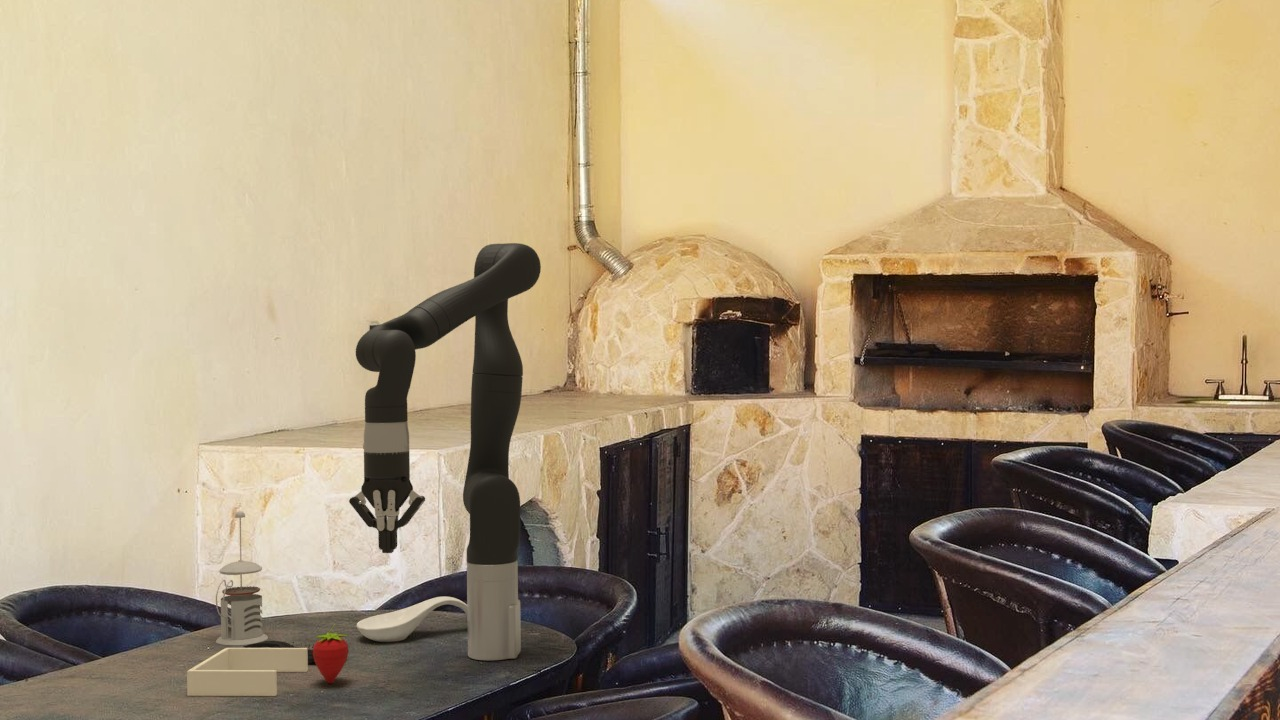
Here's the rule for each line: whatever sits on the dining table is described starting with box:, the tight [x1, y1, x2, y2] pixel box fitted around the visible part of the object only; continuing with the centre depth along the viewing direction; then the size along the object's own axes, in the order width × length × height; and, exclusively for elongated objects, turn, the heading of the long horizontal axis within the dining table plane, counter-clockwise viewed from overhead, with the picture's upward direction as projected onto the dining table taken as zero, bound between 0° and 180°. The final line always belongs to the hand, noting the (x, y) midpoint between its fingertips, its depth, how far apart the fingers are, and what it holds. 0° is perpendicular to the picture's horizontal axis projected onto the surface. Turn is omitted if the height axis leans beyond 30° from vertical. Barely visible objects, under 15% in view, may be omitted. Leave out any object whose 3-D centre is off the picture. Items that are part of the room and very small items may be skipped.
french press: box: [215, 511, 269, 646], centre depth 253 cm, size 10×12×25 cm
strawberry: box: [312, 623, 350, 684], centre depth 219 cm, size 6×8×10 cm
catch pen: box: [186, 647, 309, 697], centre depth 220 cm, size 15×17×4 cm
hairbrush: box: [242, 640, 315, 664], centre depth 240 cm, size 8×4×25 cm
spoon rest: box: [356, 596, 468, 643], centre depth 255 cm, size 24×12×7 cm, turn 115°
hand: (387, 552), depth 218 cm, fingers closed
